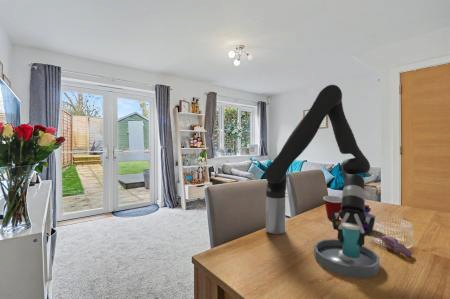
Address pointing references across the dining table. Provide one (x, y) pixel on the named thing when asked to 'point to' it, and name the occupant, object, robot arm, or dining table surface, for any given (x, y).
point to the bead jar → (350, 240)
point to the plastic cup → (332, 205)
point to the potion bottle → (367, 216)
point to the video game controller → (395, 245)
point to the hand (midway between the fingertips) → (350, 243)
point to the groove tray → (346, 260)
